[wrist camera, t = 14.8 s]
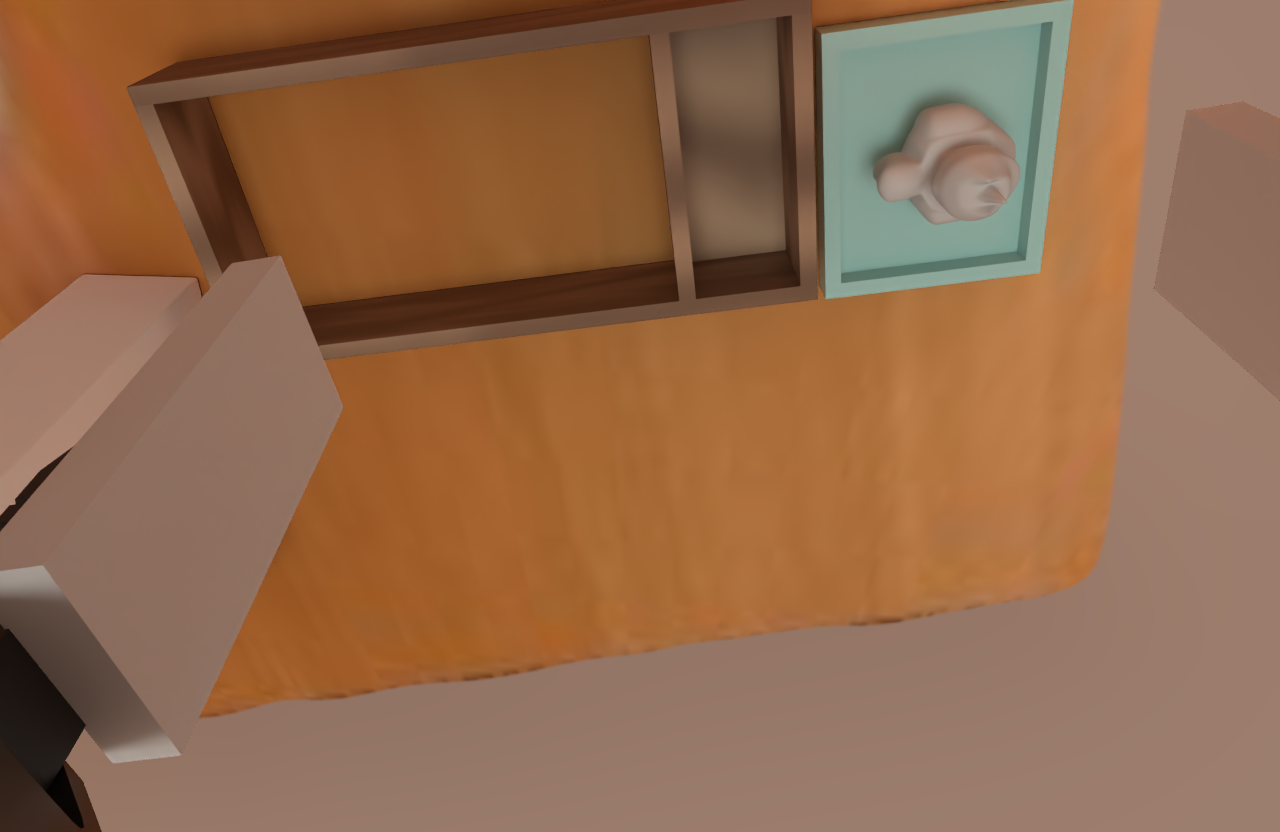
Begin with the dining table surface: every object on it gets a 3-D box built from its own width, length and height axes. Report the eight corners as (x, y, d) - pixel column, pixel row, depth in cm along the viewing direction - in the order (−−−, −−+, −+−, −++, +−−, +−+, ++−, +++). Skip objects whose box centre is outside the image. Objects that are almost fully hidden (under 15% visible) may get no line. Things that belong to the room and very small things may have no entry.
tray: (814, 27, 41) (821, 34, 40) (1057, -7, 40) (1073, -1, 39) (819, 285, 48) (825, 299, 47) (1027, 260, 47) (1039, 273, 46)
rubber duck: (996, 191, 45) (1062, 252, 38) (864, 217, 45) (907, 282, 39) (998, 81, 42) (1070, 126, 35) (857, 110, 43) (901, 160, 36)
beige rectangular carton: (198, 275, 47) (-72, 554, 28) (222, 375, 50) (-6, 684, 32) (80, 272, 47) (-272, 552, 28) (112, 373, 50) (-184, 683, 31)
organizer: (176, 62, 41) (126, 87, 37) (790, -25, 40) (811, -9, 36) (277, 324, 49) (245, 369, 44) (799, 258, 47) (817, 299, 43)
